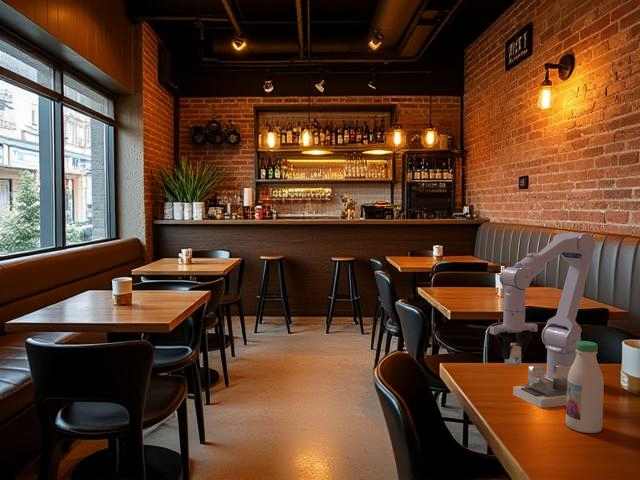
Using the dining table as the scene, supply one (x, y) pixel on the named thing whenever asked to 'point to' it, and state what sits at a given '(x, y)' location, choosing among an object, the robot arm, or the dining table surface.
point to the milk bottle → (585, 390)
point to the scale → (539, 397)
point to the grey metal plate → (546, 388)
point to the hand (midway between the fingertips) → (513, 357)
